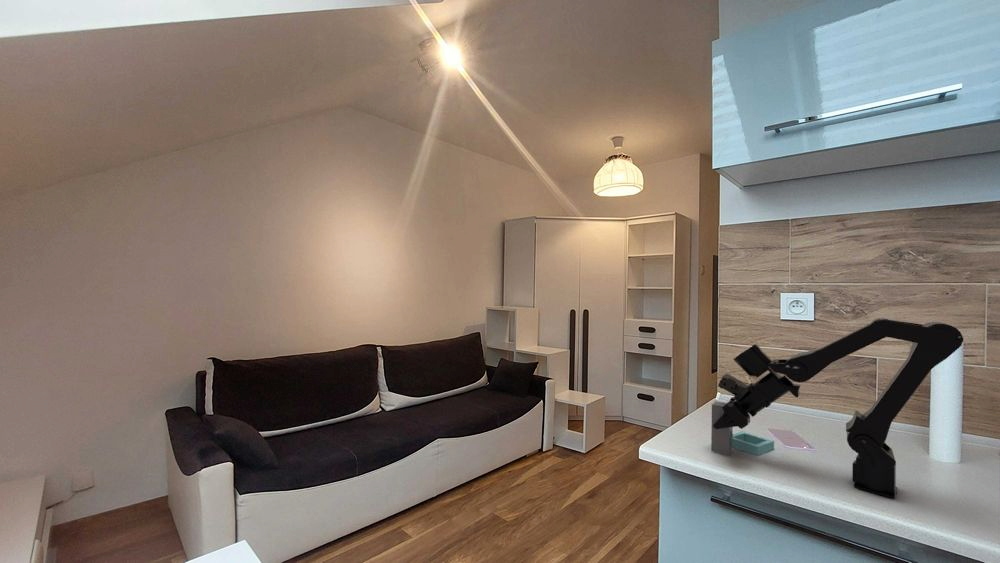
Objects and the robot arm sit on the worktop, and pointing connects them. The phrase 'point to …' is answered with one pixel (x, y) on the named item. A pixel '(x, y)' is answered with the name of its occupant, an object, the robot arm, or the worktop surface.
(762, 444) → the socket block
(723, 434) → the grey rectangular block
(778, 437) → the mobile phone
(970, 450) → the worktop surface
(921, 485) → the worktop surface
